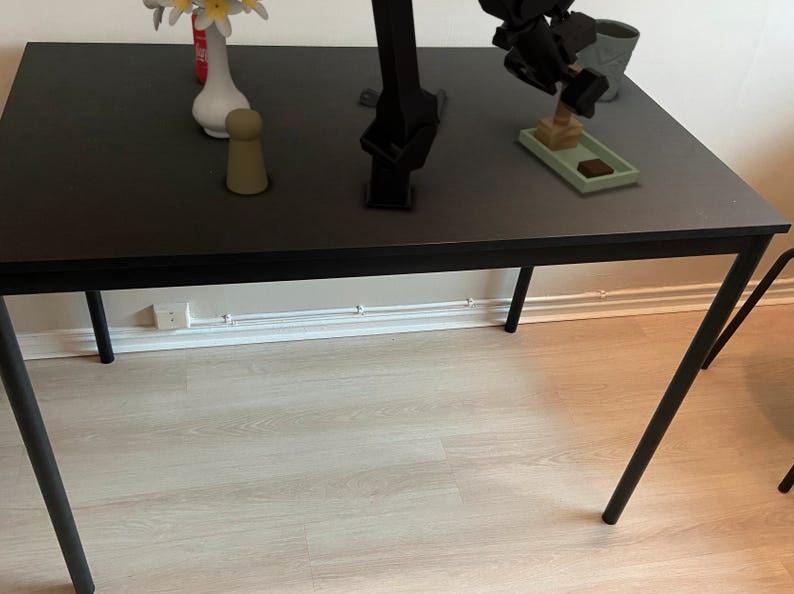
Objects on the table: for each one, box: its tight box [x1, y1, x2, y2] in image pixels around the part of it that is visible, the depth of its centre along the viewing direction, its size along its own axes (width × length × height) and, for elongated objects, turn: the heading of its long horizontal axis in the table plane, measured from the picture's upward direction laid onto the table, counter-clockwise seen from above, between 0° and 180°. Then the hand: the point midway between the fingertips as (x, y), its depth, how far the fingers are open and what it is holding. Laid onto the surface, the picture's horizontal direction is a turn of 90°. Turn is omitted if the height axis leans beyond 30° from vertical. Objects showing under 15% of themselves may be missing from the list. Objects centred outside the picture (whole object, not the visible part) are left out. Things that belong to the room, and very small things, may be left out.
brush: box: [535, 63, 585, 151], centre depth 115 cm, size 6×4×13 cm
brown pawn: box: [225, 108, 269, 195], centre depth 101 cm, size 6×6×11 cm
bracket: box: [359, 87, 447, 128], centre depth 126 cm, size 14×15×3 cm
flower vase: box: [142, 0, 269, 139], centre depth 108 cm, size 13×18×25 cm
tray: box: [518, 127, 641, 194], centre depth 116 cm, size 18×11×2 cm, turn 24°
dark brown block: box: [577, 158, 614, 179], centre depth 112 cm, size 4×4×2 cm
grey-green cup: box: [576, 18, 641, 102], centre depth 134 cm, size 10×10×12 cm
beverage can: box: [190, 7, 208, 85], centre depth 127 cm, size 5×5×12 cm
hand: (572, 104), depth 115 cm, fingers open, 9 cm apart
